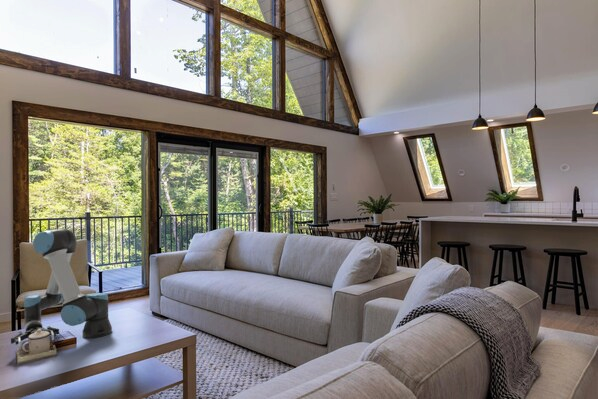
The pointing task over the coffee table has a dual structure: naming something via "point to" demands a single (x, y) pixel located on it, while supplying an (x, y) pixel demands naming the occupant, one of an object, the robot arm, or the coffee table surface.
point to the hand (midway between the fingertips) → (36, 340)
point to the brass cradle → (36, 355)
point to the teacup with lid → (38, 342)
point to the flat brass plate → (23, 353)
